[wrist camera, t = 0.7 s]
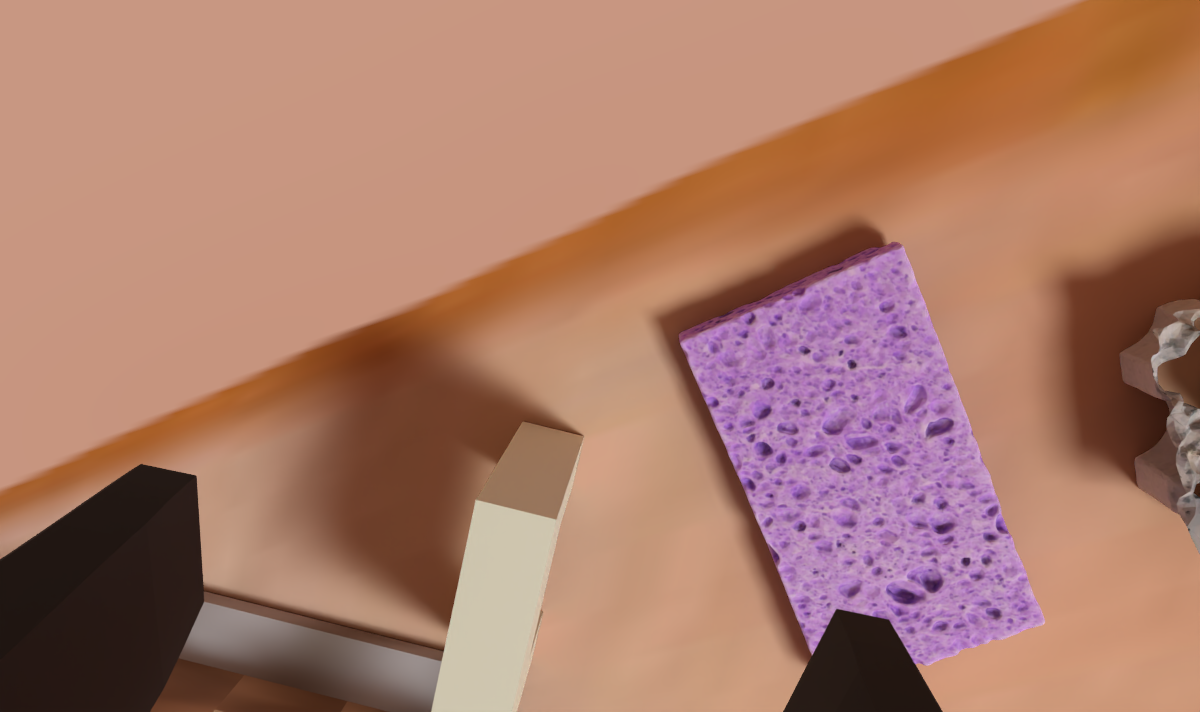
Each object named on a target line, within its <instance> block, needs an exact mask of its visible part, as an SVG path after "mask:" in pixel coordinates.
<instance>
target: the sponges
mask: <svg viewBox="0 0 1200 712" xmlns="http://www.w3.org/2000/svg"><path fill="white" fill-rule="evenodd" d="M679 342H680V345H681V347H682V349H683V351H684V353H685V355H686V358H687V361H688V364H689V366H690V368H691V370H692V373H693V375H694V377H695V380H696V382H697V384H698V386H699V389H700V391H701V393H702V396H703V398H704V400H705V402H706V404H707V406H708V409H709V411H710V414H711V416H712V419H713V421H714V424H715V426H716V428H717V430H718V432H719V434H720V436H721V438H722V440H723V442H724V444H725V447H726V449H727V452H728V456H729V458H730V460H731V462H732V464H733V466H734V469H735V471H736V473H737V475H738V477H739V479H740V481H741V484H742V486H743V488H744V490H745V493H746V496H747V499H748V501H749V504H750V506H751V508H752V510H753V513H754V516H755V518H756V520H757V522H758V525H759V527H760V529H761V532H762V534H763V536H764V539H765V540H766V543H767V545H768V548H769V550H770V553H771V555H772V558H773V560H774V563H775V566H776V568H777V571H778V573H779V575H780V578H781V580H782V583H783V585H784V587H785V591H786V593H787V595H788V598H789V601H790V603H791V606H792V608H793V610H794V613H795V616H796V618H797V620H798V623H799V625H800V628H801V630H802V633H803V635H804V637H805V640H806V643H807V645H808V648H809V650H810V652H811V655H813V653H814V651H815V649H816V647H817V645H818V643H819V641H820V639H821V637H822V635H823V634H824V632H825V630H826V628H827V626H828V624H829V622H830V620H831V618H832V616H833V614H834V612H835V610H836V609H840V610H845V611H850V612H855V613H860V614H865V615H869V616H874V617H879V618H884V619H889V620H890V622H891V624H892V625H893V627H894V629H895V631H896V632H897V634H898V636H899V637H900V639H901V641H902V642H903V644H904V646H905V648H906V649H907V651H908V653H909V654H910V656H911V658H912V660H913V661H914V663H915V664H917V663H921V664H923V665H930V664H932V663H933V662H935V661H938V660H941V659H943V658H946V657H951V656H955V655H957V654H958V653H959V651H960V650H962V649H964V648H974V647H976V646H978V645H980V644H987V643H988V642H989V641H991V640H993V639H994V640H1001V639H1005V638H1008V637H1010V636H1012V635H1016V634H1018V633H1019V632H1021V631H1023V630H1025V629H1028V628H1034V627H1037V626H1041V625H1043V624H1044V623H1045V619H1044V617H1043V614H1042V611H1041V608H1040V606H1039V604H1038V603H1037V601H1036V599H1035V597H1034V595H1033V592H1032V589H1031V587H1030V584H1029V581H1028V578H1027V574H1026V571H1025V569H1024V567H1023V564H1022V561H1021V559H1020V557H1019V555H1018V554H1017V552H1016V550H1015V547H1014V542H1013V539H1012V537H1011V535H1010V534H1009V532H1008V529H1007V527H1006V524H1005V522H1004V519H1003V517H1002V515H1001V507H1000V503H999V500H998V498H997V496H996V494H995V491H994V487H993V485H992V481H991V477H990V474H989V471H988V470H987V468H986V466H985V465H984V463H983V461H982V458H981V454H980V451H979V448H978V444H977V441H976V439H975V438H974V436H973V433H972V429H971V425H970V422H969V420H968V417H967V414H966V412H965V409H964V407H963V404H962V402H961V399H960V396H959V393H958V390H957V387H956V385H955V383H954V381H953V378H952V375H951V373H950V372H949V369H948V364H947V361H946V358H945V355H944V353H943V350H942V347H941V344H940V342H939V340H938V337H937V334H936V332H935V330H934V328H933V325H932V322H931V319H930V316H929V313H928V310H927V308H926V304H925V301H924V299H923V296H922V294H921V292H920V290H919V287H918V285H917V282H916V279H915V277H914V272H913V269H912V267H911V264H910V262H909V259H908V257H907V255H906V253H905V250H904V247H903V245H901V244H900V243H899V242H892V243H890V244H889V245H886V246H884V247H881V248H877V247H873V248H869V249H866V250H864V251H862V252H860V253H858V254H855V255H853V256H851V257H849V258H847V259H845V260H844V261H843V262H841V263H839V264H838V265H834V266H830V267H828V268H825V269H823V270H821V271H818V272H816V273H814V274H812V275H810V276H807V277H805V278H803V279H801V280H799V281H797V282H794V283H792V284H789V285H787V286H785V287H784V288H782V289H780V290H778V291H775V292H773V293H772V294H770V295H768V296H767V297H765V298H763V299H761V300H759V301H757V302H753V303H750V304H746V305H743V306H741V307H738V308H736V309H734V310H732V311H730V312H728V313H727V314H725V315H723V316H719V317H715V318H713V319H710V320H708V321H706V322H703V323H701V324H699V325H697V326H694V327H692V328H690V329H687V330H685V331H682V332H680V333H679Z"/></svg>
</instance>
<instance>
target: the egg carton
mask: <svg viewBox="0 0 1200 712" xmlns="http://www.w3.org/2000/svg"><path fill="white" fill-rule="evenodd" d="M1199 317H1200V301H1199V300H1197V299H1186V300H1177V301H1173V302H1169V303H1166V304H1164V305H1161V306H1159V307H1157V308H1156V312H1155V316H1154V322H1153V324H1152V326H1151V328H1150V330H1149V332H1148V333H1147V334H1146V335H1145V336H1144V337H1143V338H1142V339H1141V340H1140V341H1139V342H1137V343H1136V344H1134V345H1132V346H1130V347H1129V348H1127V349H1125V350H1123V351H1122V352H1121V353H1119V354H1120V366H1121V370H1122V379H1123V381H1124V382H1125V383H1126V384H1128V385H1131V386H1133V387H1135V388H1138V389H1140V390H1141V391H1143V392H1145V393H1147V394H1149V395H1151V396H1154V397H1156V398H1159V399H1162V400H1165V401H1166V403H1167V405H1168V407H1169V412H1170V415H1169V416H1168V418H1167V425H1166V427H1167V431H1166V432H1165V434H1164V435H1163V437H1162V438H1161V440H1160V441H1159V442H1158V443H1157V444H1156V445H1155V446H1154V447H1153V448H1151V449H1150V450H1148V451H1147V452H1144V453H1143V454H1141V455H1139V456H1137V457H1136V458H1135V462H1134V464H1135V471H1136V478H1137V481H1136V483H1137V484H1138V487H1139V489H1141V490H1143V491H1144V492H1146V493H1148V494H1149V495H1151V496H1153V497H1154V498H1156V499H1157V500H1158V501H1160V502H1161V503H1163V504H1164V505H1166V506H1167V507H1169V508H1170V509H1171V510H1172V511H1173V512H1175V513H1178V514H1180V516H1181V518H1182V519H1183V521H1184V523H1185V524H1186V526H1187V528H1188V530H1189V533H1190V535H1191V538H1192V540H1193V542H1194V544H1195V546H1196V548H1197V550H1198V552H1199V554H1200V497H1198V496H1197V495H1196V494H1194V493H1193V492H1194V490H1195V486H1196V484H1198V483H1200V409H1198V408H1196V407H1194V406H1191V405H1189V404H1186V403H1184V401H1183V397H1182V396H1181V395H1180V393H1175V392H1169V391H1164V390H1163V389H1162V388H1161V386H1160V385H1159V384H1158V378H1157V369H1158V366H1159V365H1160V364H1162V363H1164V362H1166V361H1169V360H1172V359H1176V358H1179V357H1181V356H1184V355H1185V354H1186V353H1187V351H1188V349H1189V347H1190V345H1191V344H1192V343H1193V342H1194V341H1195V339H1196V338H1197V337H1198V336H1199V335H1200V331H1199V330H1198V329H1197V328H1196V327H1194V321H1195V320H1196V319H1197V318H1199Z"/></svg>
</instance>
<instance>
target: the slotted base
mask: <svg viewBox="0 0 1200 712" xmlns="http://www.w3.org/2000/svg"><path fill="white" fill-rule="evenodd" d="M443 653H444V651H440V650H436V649H432V648H428V647H424V646H420V645H416V644H412V643H408V642H404V641H400V640H396V639H392V638H388V637H384V636H380V635H376V634H372V633H368V632H364V631H360V630H356V629H353V628H349V627H345V626H341V625H337V624H333V623H329V622H325V621H321V620H317V619H313V618H309V617H305V616H301V615H297V614H293V613H289V612H285V611H281V610H277V609H273V608H269V607H265V606H261V605H257V604H253V603H249V602H245V601H241V600H237V599H233V598H229V597H225V596H221V595H217V594H213V593H209V592H205V591H204V603H203V606H202V608H201V610H200V612H199V615H198V617H197V619H196V621H195V623H194V626H193V628H192V630H191V632H190V634H189V637H188V639H187V641H186V643H185V645H184V648H183V650H182V652H181V654H180V656H179V658H178V660H177V662H176V664H175V666H174V669H173V671H172V673H171V675H170V677H169V679H168V681H167V683H166V685H165V687H164V689H163V691H162V692H161V694H160V696H159V697H158V699H157V701H156V703H155V704H154V706H153V708H152V709H151V711H150V712H431V710H432V705H433V701H434V696H435V691H436V686H437V682H438V677H439V672H440V667H441V663H442V658H443Z"/></svg>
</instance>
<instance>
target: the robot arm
mask: <svg viewBox="0 0 1200 712" xmlns="http://www.w3.org/2000/svg"><path fill="white" fill-rule="evenodd" d="M203 603H204V589H203V573H202V557H201V541H200V525H199V509H198V493H197V477H196V475H191V474H186V473H181V472H176V471H172V470H167V469H162V468H157V467H152V466H148V465H143V464H140V465H139V466H137V467H135V468H134V469H132V470H131V471H129V472H128V473H126V474H125V475H123V476H122V477H120V478H119V479H117V480H116V481H114V482H113V483H111V484H110V485H108V486H107V487H105V488H104V489H102V490H101V491H100V492H98V493H97V494H95V495H94V496H92V497H91V498H89V499H88V500H87V501H85V502H84V503H82V504H81V505H79V506H78V507H76V508H75V509H74V510H72V511H71V512H69V513H68V514H66V515H65V516H63V517H62V518H60V519H59V520H58V521H56V522H55V523H53V524H52V525H50V526H49V527H47V528H46V529H44V530H43V531H42V532H40V533H39V534H37V535H36V536H34V537H33V538H31V539H30V540H28V541H27V542H25V543H24V544H22V545H21V546H20V547H18V548H17V549H15V550H14V551H12V552H11V553H9V554H8V555H6V556H5V557H3V558H2V559H0V712H150V711H151V709H152V708H153V706H154V704H155V703H156V701H157V699H158V697H159V696H160V694H161V692H162V691H163V689H164V687H165V685H166V683H167V681H168V679H169V677H170V675H171V673H172V671H173V669H174V666H175V664H176V662H177V660H178V658H179V656H180V654H181V652H182V650H183V648H184V645H185V643H186V641H187V639H188V637H189V634H190V632H191V630H192V628H193V626H194V623H195V621H196V619H197V617H198V615H199V612H200V610H201V608H202V606H203ZM783 712H943V711H942V710H941V708H940V706H939V705H938V703H937V701H936V699H935V698H934V696H933V694H932V693H931V691H930V689H929V687H928V686H927V684H926V682H925V680H924V679H923V677H922V675H921V673H920V672H919V670H918V668H917V667H916V665H915V663H914V661H913V660H912V658H911V656H910V654H909V653H908V651H907V649H906V648H905V646H904V644H903V642H902V641H901V639H900V637H899V636H898V634H897V632H896V631H895V629H894V627H893V625H892V624H891V622H890V620H889V619H884V618H879V617H874V616H869V615H865V614H860V613H855V612H850V611H845V610H840V609H836V610H835V612H834V614H833V616H832V618H831V620H830V622H829V624H828V626H827V628H826V630H825V632H824V634H823V635H822V637H821V639H820V641H819V643H818V645H817V647H816V649H815V651H814V653H813V655H812V657H811V659H810V661H809V663H808V665H807V667H806V669H805V670H804V672H803V674H802V676H801V678H800V680H799V682H798V684H797V686H796V688H795V690H794V692H793V694H792V696H791V698H790V700H789V702H788V704H787V705H786V707H785V709H784V711H783Z"/></svg>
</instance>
